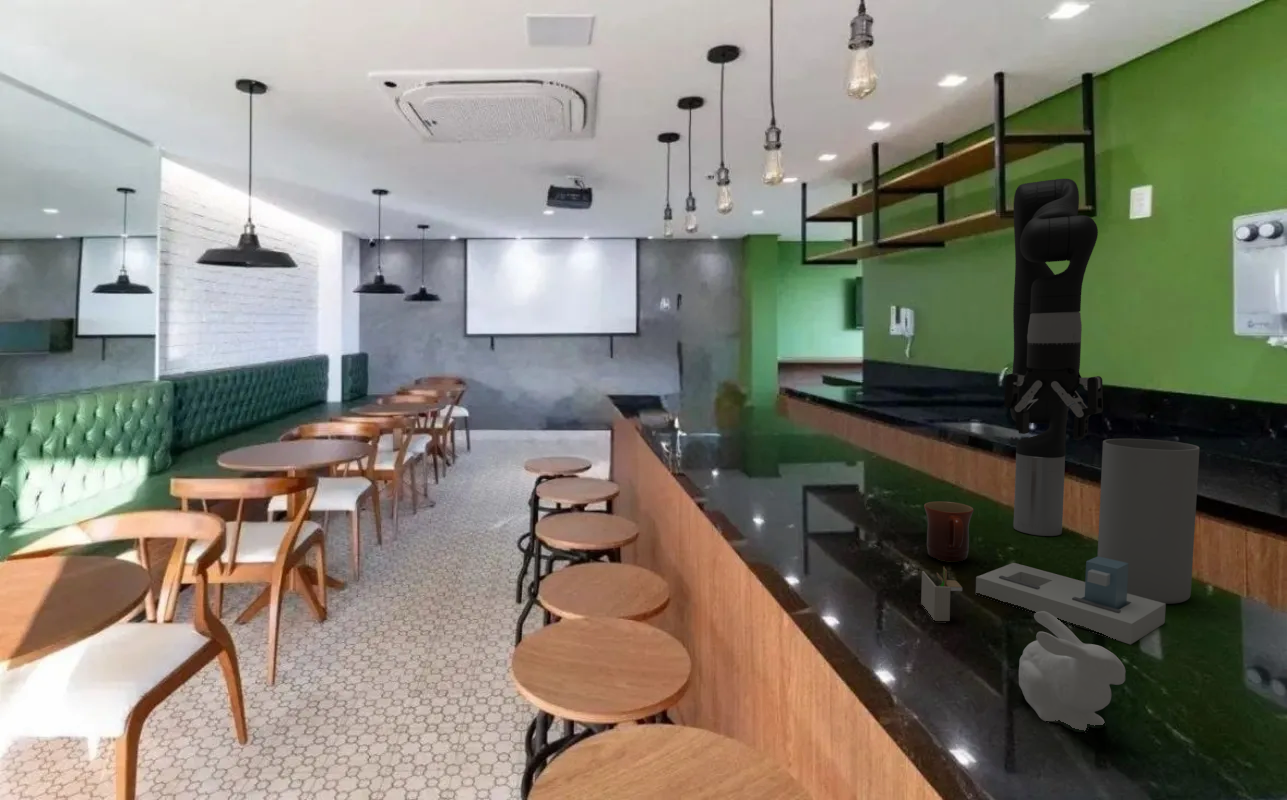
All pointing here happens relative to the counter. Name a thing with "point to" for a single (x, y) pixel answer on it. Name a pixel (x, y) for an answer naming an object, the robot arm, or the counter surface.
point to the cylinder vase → (1150, 514)
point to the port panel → (1071, 602)
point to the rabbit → (1067, 675)
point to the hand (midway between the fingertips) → (1050, 436)
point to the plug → (1106, 582)
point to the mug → (948, 530)
